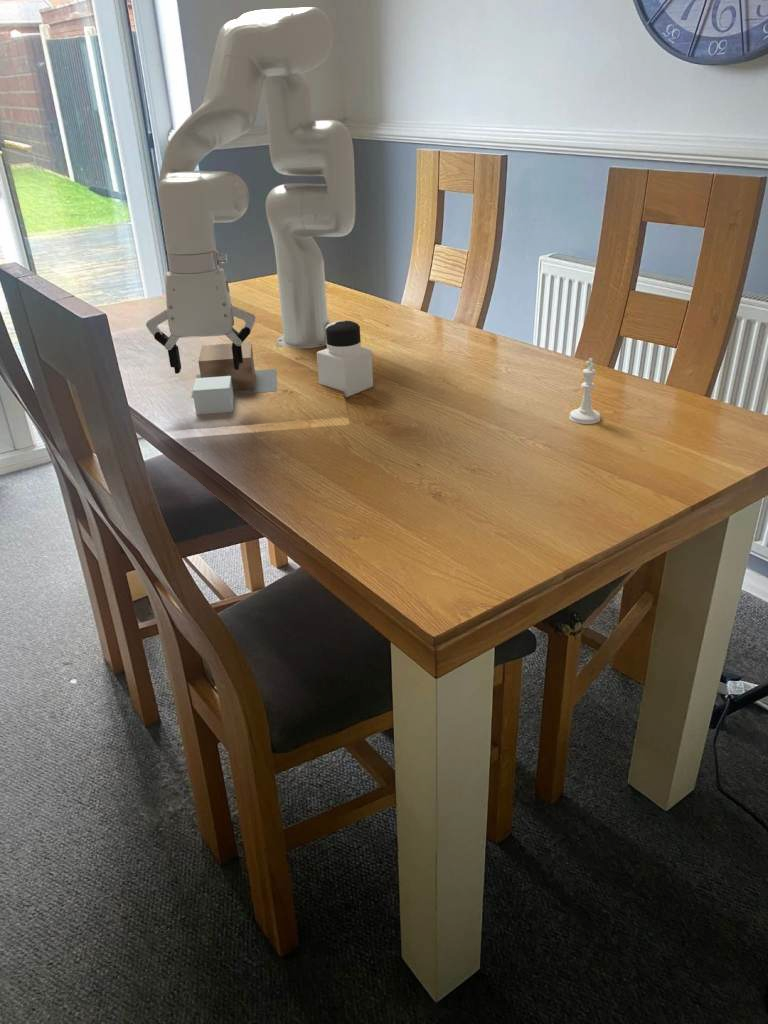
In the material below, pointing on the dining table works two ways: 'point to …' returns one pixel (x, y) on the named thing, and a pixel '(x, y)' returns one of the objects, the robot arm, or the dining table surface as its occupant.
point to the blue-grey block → (213, 395)
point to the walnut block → (228, 365)
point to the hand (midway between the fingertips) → (207, 369)
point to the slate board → (260, 382)
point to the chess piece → (586, 399)
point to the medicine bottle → (345, 359)
